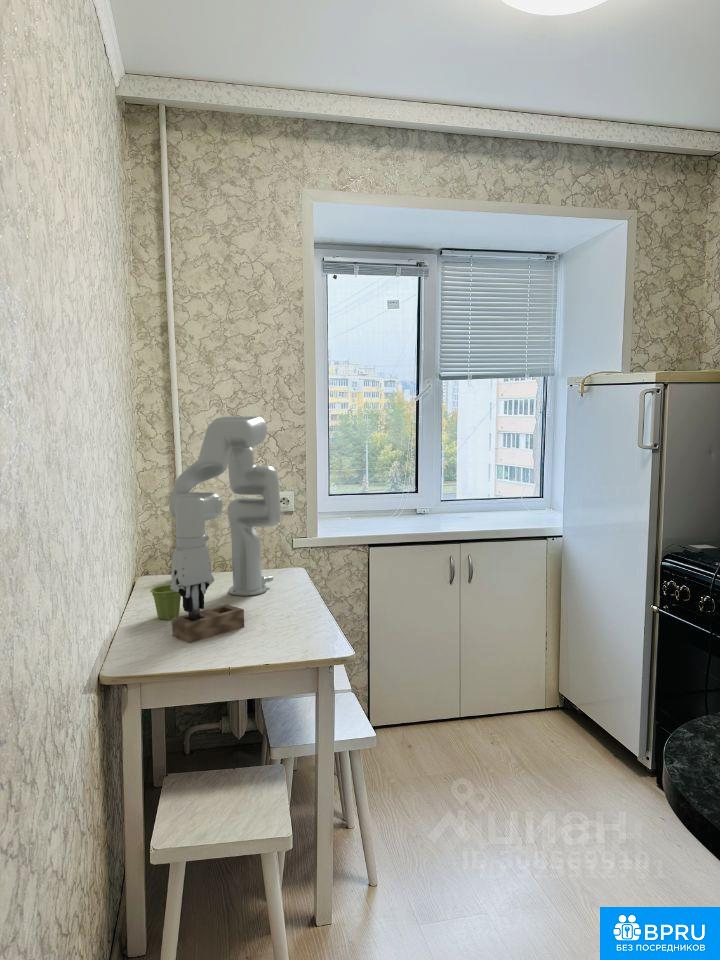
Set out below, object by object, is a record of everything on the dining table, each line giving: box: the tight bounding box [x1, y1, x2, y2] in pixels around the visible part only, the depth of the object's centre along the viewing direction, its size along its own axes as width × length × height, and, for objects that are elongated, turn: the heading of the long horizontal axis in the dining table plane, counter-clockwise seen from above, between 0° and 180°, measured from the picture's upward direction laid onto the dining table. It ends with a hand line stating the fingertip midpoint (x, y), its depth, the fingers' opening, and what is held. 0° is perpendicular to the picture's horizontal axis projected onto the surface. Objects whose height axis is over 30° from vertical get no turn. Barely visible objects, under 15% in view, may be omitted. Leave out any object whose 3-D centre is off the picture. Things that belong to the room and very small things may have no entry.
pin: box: [187, 584, 201, 621], centre depth 185 cm, size 3×3×10 cm
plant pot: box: [150, 584, 182, 621], centre depth 203 cm, size 9×9×9 cm
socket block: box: [171, 604, 245, 644], centre depth 189 cm, size 18×8×5 cm, turn 137°
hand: (193, 609), depth 185 cm, fingers closed on pin, 3 cm apart
